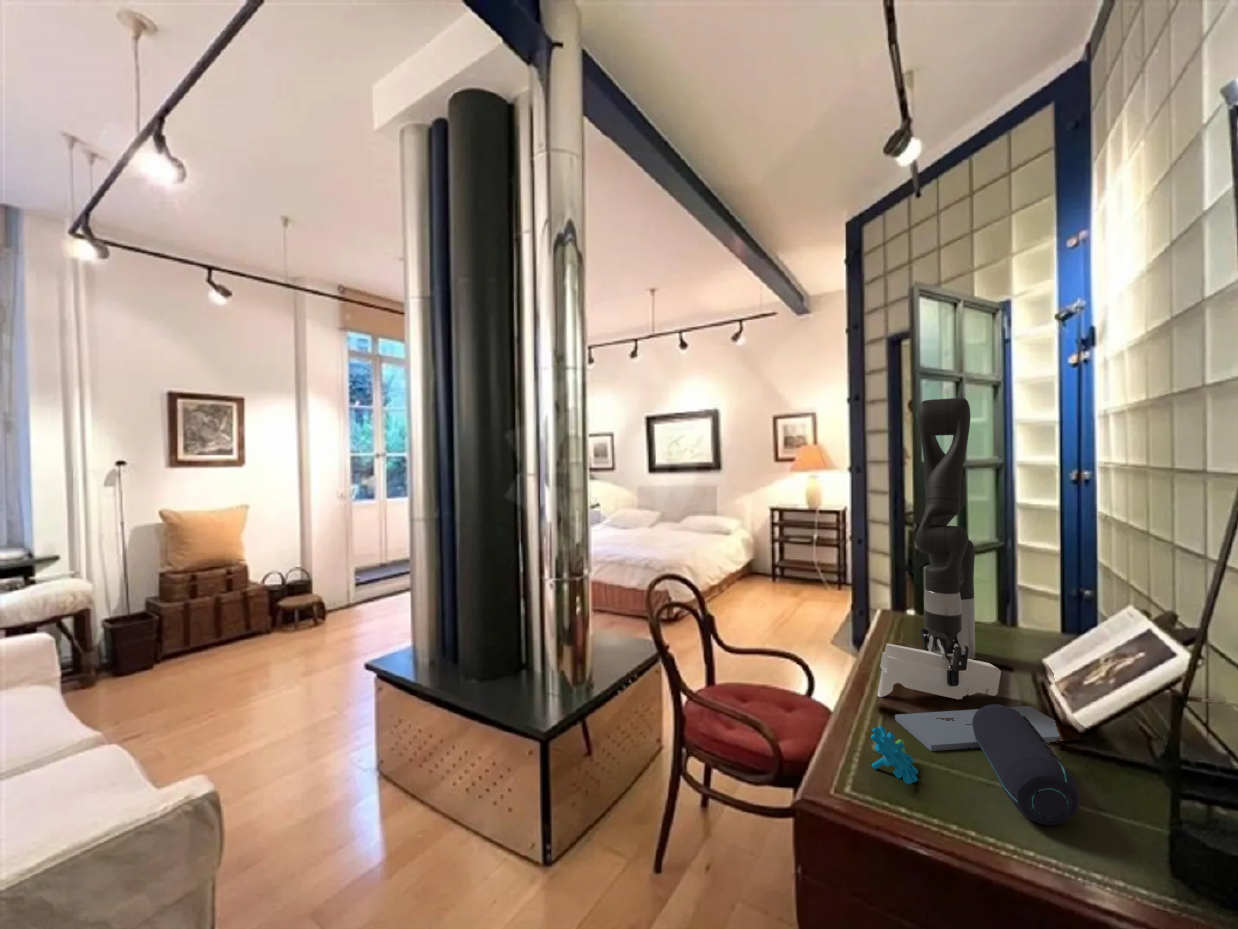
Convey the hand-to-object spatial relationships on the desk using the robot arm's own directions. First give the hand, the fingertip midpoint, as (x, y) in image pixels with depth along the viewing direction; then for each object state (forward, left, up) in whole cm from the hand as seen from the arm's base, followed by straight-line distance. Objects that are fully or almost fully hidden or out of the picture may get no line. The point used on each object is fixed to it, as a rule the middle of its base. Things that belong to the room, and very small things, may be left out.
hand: (943, 679), depth 124 cm
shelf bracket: (0, -1, -4) cm, 4 cm away
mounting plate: (+15, -2, -4) cm, 16 cm away
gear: (+26, -28, -4) cm, 39 cm away
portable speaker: (+32, -9, -4) cm, 34 cm away
